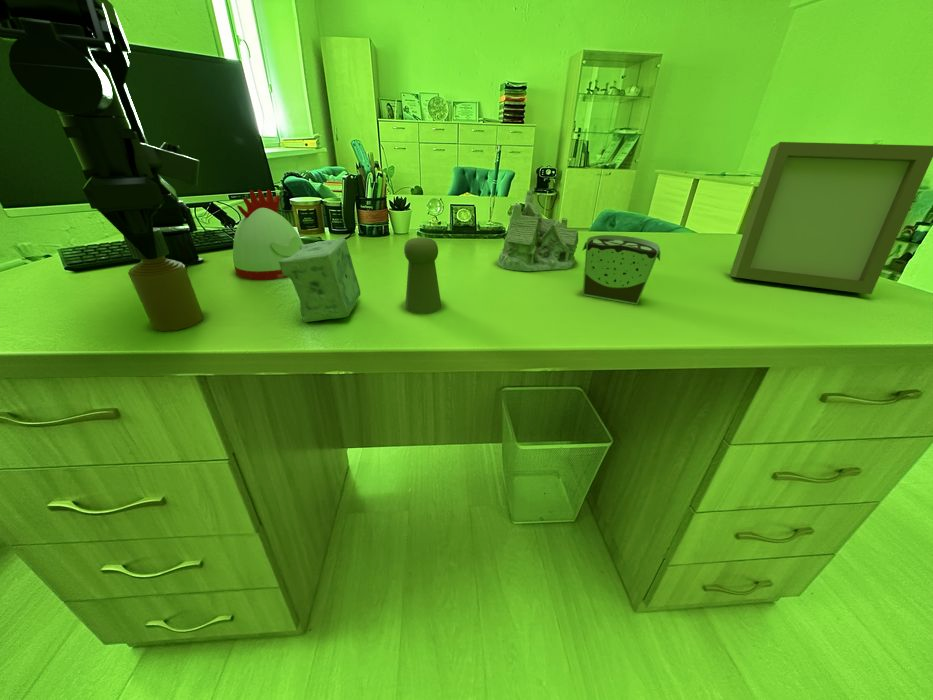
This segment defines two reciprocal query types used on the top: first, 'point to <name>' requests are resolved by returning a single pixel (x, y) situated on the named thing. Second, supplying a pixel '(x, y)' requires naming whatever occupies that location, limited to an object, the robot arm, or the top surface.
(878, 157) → the photo frame
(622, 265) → the food container
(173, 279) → the bottle
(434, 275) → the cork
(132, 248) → the cap
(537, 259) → the ceramic cottage
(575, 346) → the top surface
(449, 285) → the top surface
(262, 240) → the kitchen timer
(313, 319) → the incense holder
